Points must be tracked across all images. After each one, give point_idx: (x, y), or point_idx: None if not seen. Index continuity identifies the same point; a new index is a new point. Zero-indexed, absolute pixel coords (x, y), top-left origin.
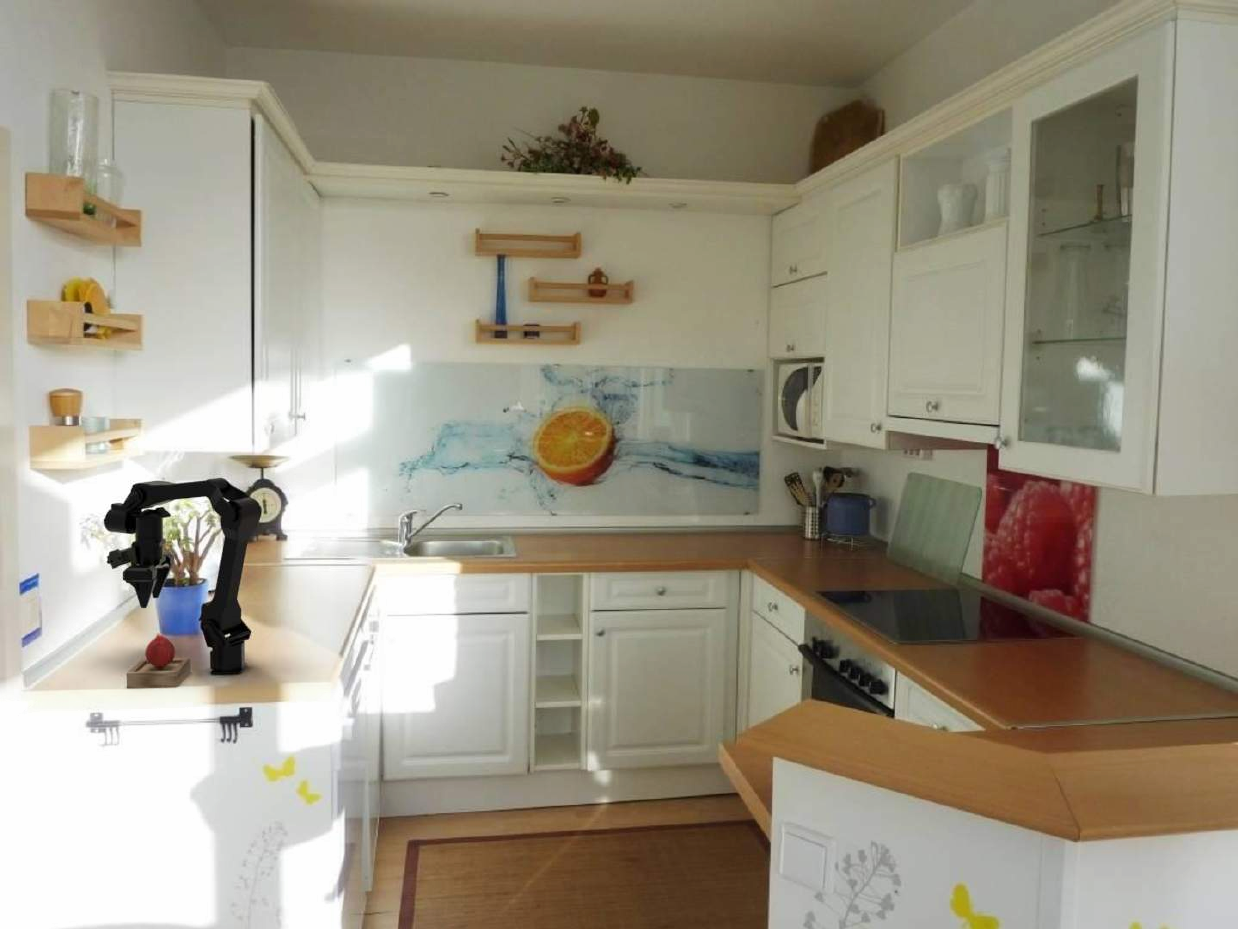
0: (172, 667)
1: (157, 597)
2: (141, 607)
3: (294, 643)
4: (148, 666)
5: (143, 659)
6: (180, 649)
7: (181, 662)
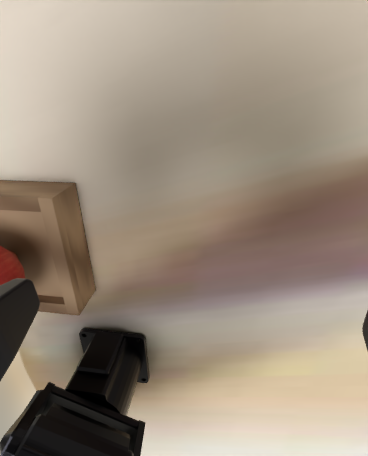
0: (32, 279)
1: (363, 333)
2: (15, 282)
3: (315, 441)
4: (27, 220)
5: (49, 201)
6: (332, 226)
7: (41, 303)
